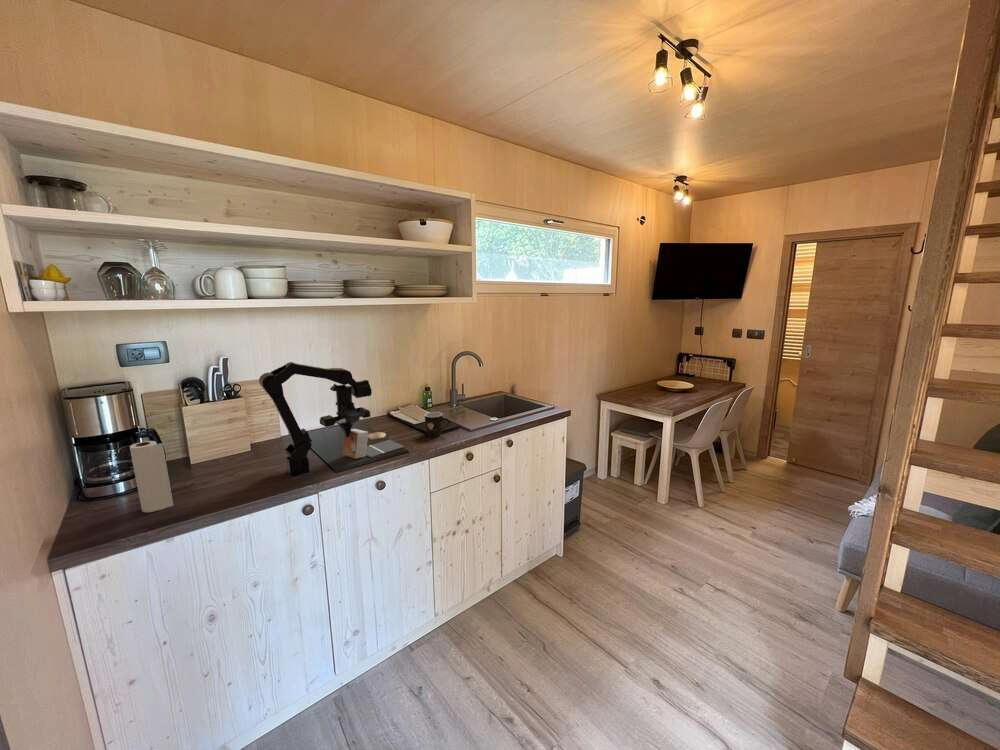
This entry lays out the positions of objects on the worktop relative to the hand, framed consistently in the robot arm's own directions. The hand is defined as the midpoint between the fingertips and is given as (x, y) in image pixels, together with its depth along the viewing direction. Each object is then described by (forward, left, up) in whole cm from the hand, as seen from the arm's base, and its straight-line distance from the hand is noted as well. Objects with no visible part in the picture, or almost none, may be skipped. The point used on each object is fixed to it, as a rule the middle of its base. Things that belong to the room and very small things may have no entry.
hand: (347, 437), depth 162 cm
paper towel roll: (-60, +6, -9) cm, 61 cm away
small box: (+2, 0, -9) cm, 9 cm away
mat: (+14, 0, -9) cm, 17 cm away
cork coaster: (+21, +16, -9) cm, 28 cm away
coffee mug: (+42, -3, -9) cm, 43 cm away
